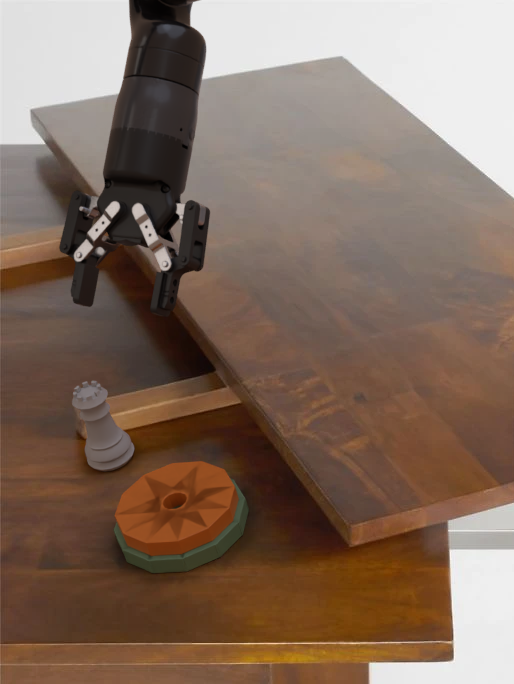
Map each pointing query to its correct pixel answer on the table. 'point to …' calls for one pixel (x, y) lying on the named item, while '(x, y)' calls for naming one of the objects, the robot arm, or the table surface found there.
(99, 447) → the grey chess rook
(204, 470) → the ring stack
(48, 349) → the table surface
